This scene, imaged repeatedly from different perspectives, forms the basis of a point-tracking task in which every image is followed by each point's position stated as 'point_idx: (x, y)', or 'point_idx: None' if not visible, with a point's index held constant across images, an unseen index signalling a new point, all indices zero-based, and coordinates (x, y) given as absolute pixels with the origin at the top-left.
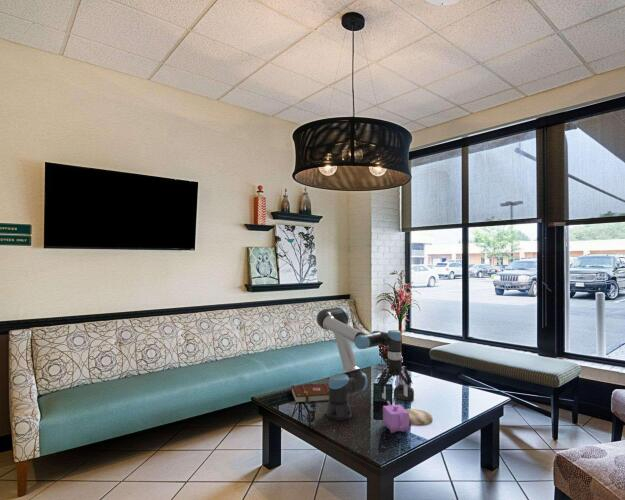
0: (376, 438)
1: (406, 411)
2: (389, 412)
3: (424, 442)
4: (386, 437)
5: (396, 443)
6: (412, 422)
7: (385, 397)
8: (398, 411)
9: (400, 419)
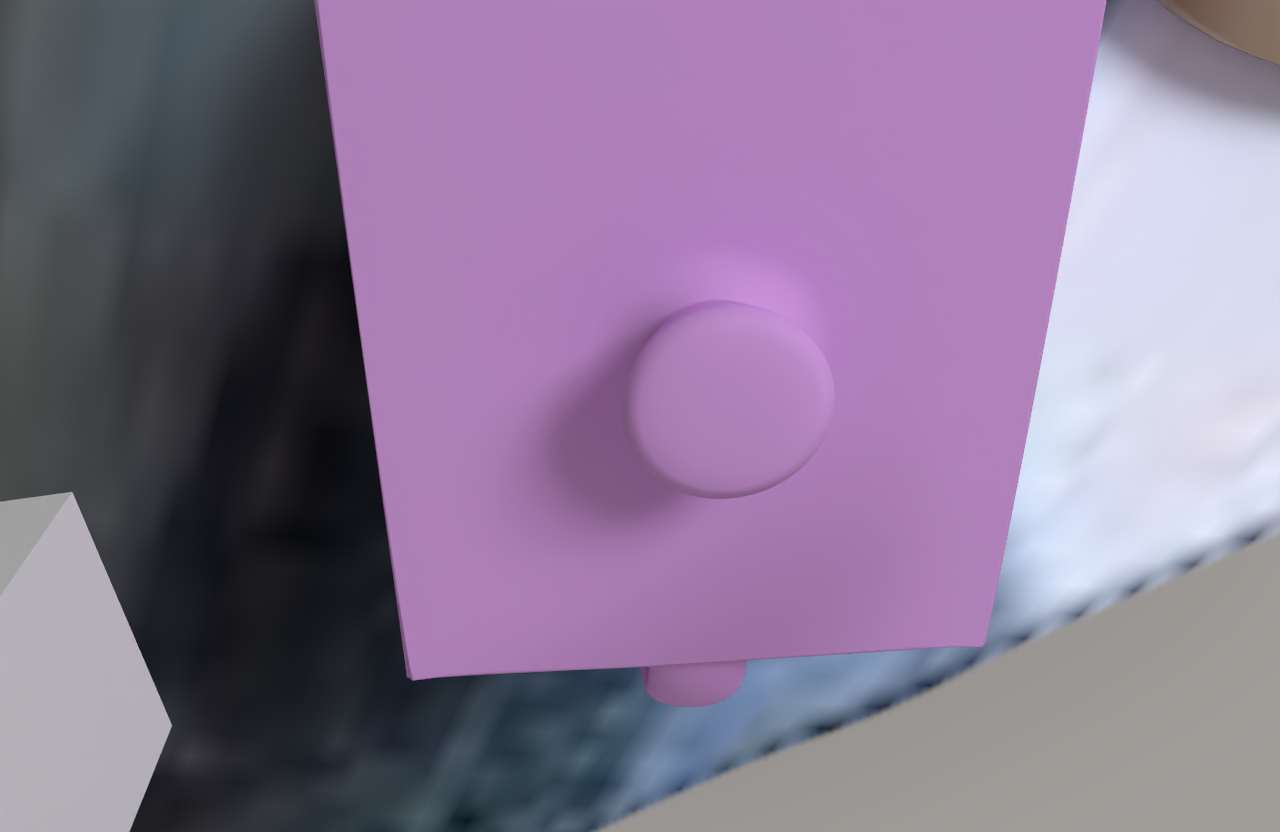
0: (93, 495)
1: (981, 553)
2: (392, 553)
3: (914, 694)
4: (312, 483)
5: (435, 681)
6: (1189, 7)
7: (128, 800)
8: (727, 523)
9: (645, 683)
